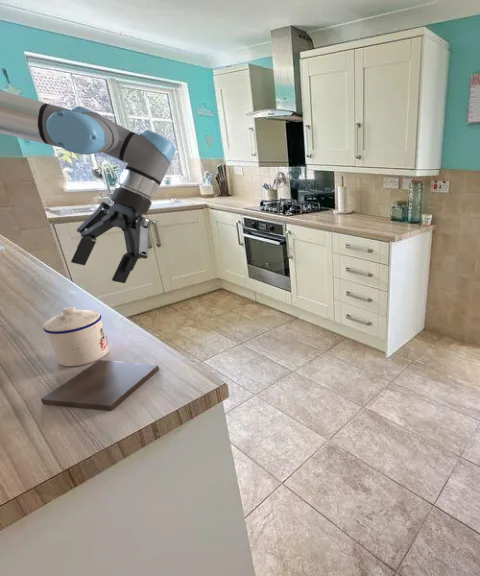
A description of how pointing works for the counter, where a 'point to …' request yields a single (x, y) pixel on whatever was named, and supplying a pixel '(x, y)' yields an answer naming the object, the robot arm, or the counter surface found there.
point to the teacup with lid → (77, 336)
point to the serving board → (101, 385)
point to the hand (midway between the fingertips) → (97, 272)
